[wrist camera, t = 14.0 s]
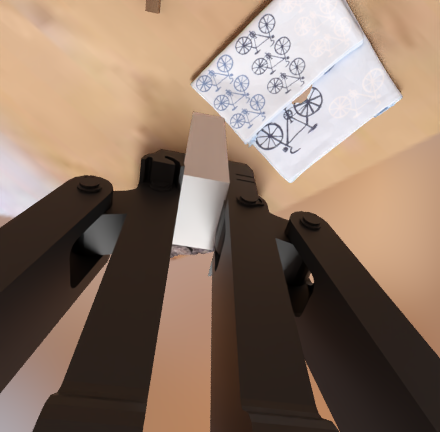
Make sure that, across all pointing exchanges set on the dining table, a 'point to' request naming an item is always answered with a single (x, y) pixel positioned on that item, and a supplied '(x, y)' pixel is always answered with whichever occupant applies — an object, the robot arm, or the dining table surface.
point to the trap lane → (153, 6)
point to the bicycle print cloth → (298, 82)
